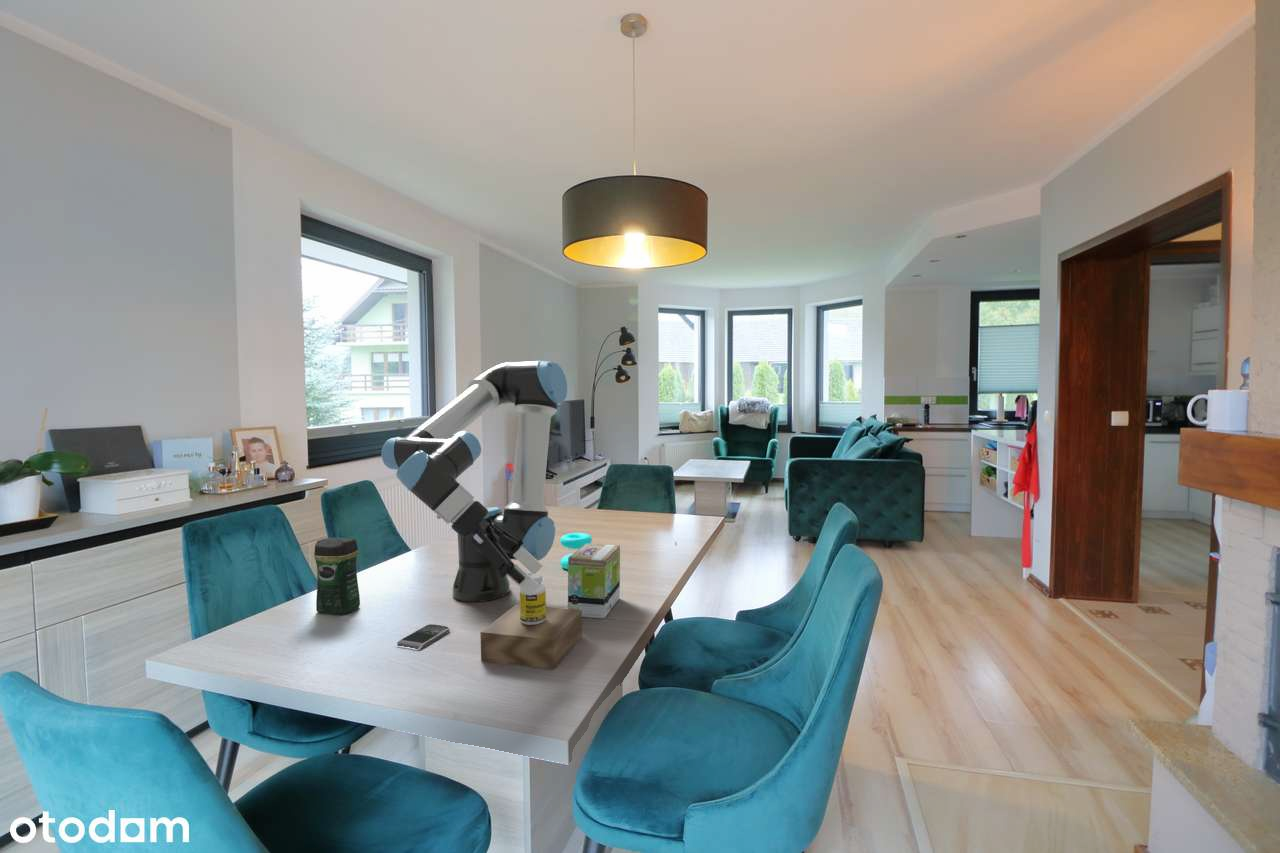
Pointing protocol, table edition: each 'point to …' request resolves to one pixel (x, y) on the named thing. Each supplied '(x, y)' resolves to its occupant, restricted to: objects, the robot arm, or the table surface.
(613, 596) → the tea box
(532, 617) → the supplement bottle
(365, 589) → the table surface
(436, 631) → the cell phone
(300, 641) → the table surface
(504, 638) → the walnut block
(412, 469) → the robot arm
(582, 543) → the donuts
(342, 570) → the coffee jar
